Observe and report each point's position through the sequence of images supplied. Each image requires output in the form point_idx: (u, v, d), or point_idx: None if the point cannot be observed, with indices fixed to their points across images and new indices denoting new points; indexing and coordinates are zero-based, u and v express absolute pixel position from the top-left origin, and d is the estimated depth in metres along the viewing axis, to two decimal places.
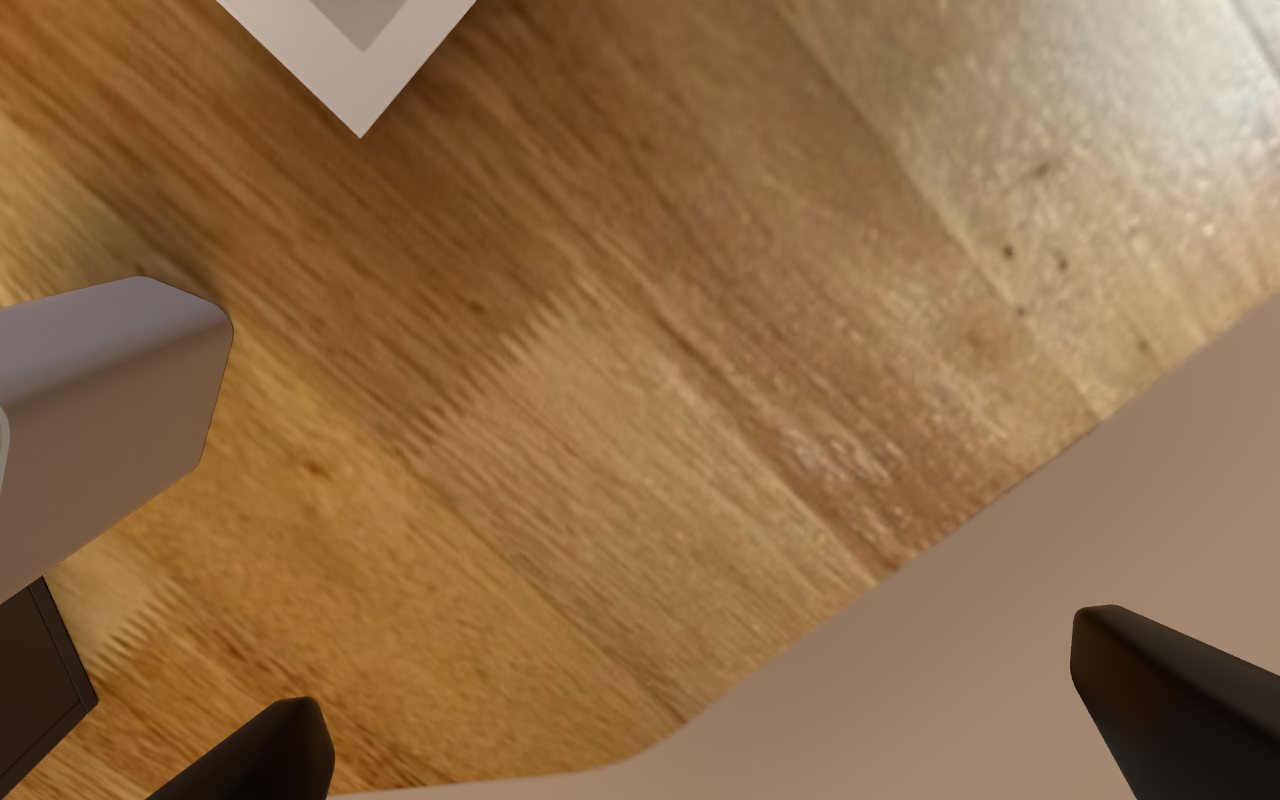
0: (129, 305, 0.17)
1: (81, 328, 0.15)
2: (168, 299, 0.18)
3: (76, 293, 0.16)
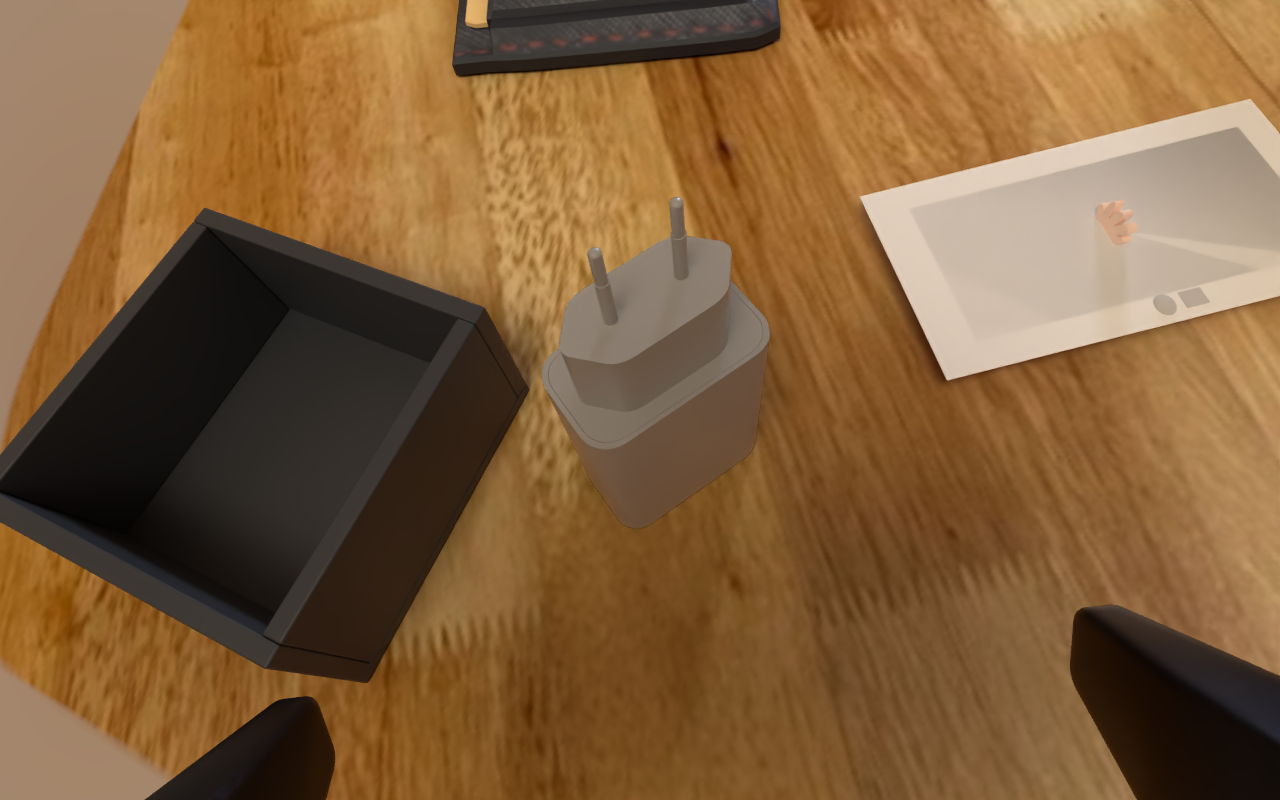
0: None
1: None
2: None
3: None
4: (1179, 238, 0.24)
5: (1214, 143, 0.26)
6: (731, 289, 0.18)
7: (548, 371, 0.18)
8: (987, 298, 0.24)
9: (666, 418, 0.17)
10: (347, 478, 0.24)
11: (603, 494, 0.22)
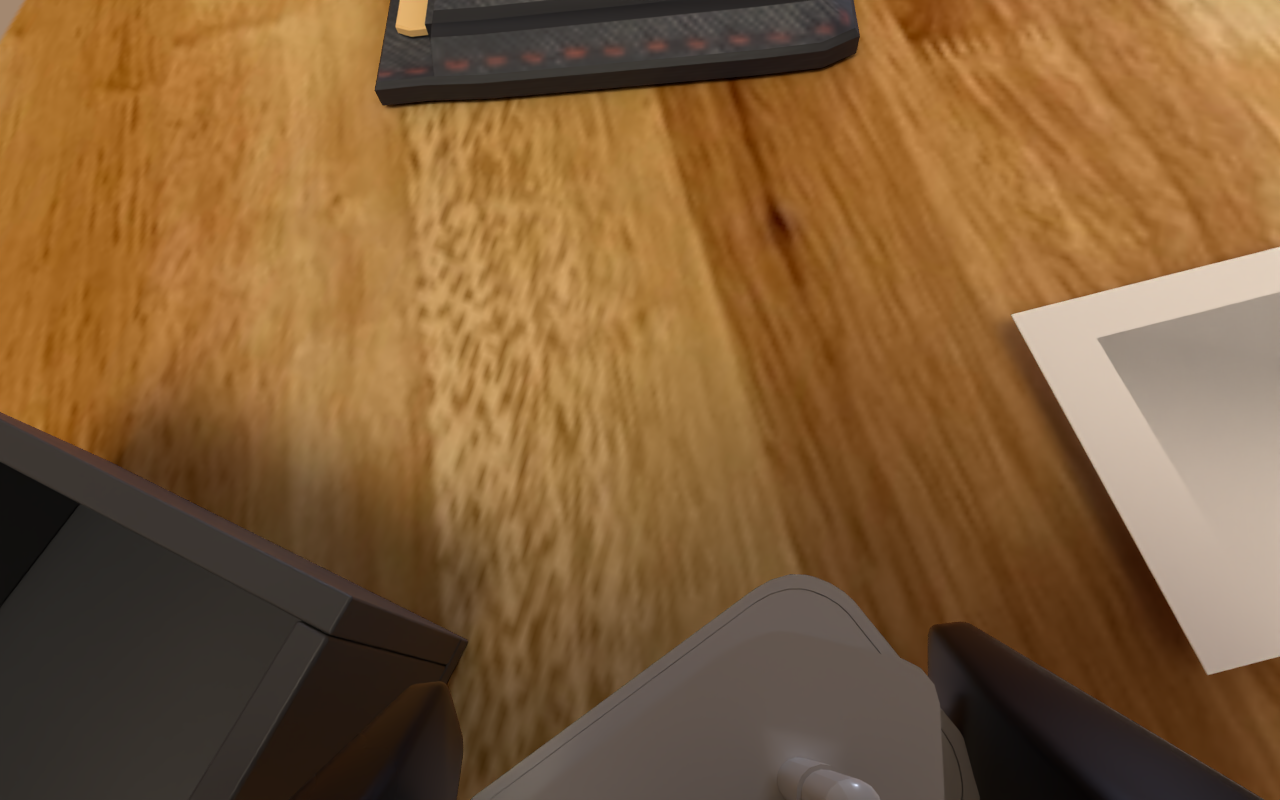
0: None
1: None
2: None
3: None
4: None
5: None
6: (874, 647, 0.08)
7: None
8: (1256, 508, 0.14)
9: None
10: None
11: None
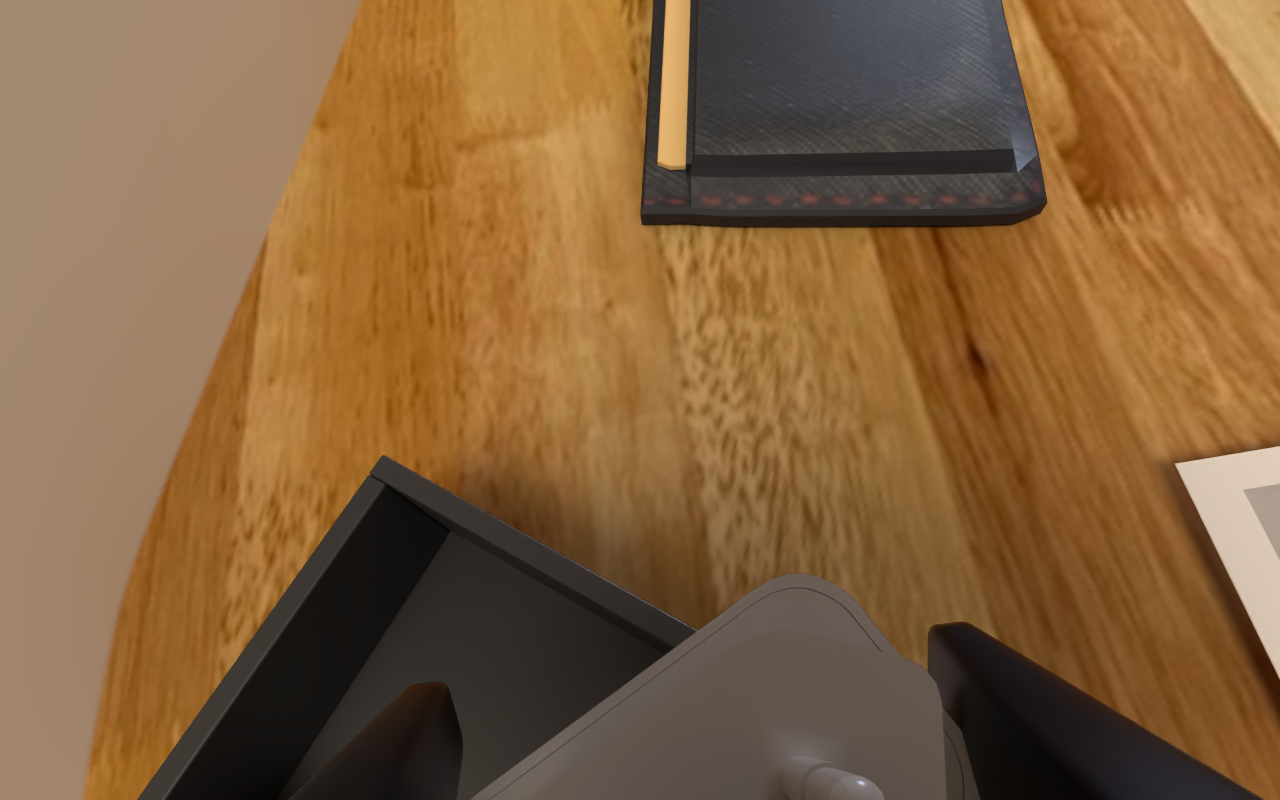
0: None
1: None
2: None
3: None
4: None
5: None
6: (876, 646, 0.08)
7: None
8: None
9: None
10: None
11: None
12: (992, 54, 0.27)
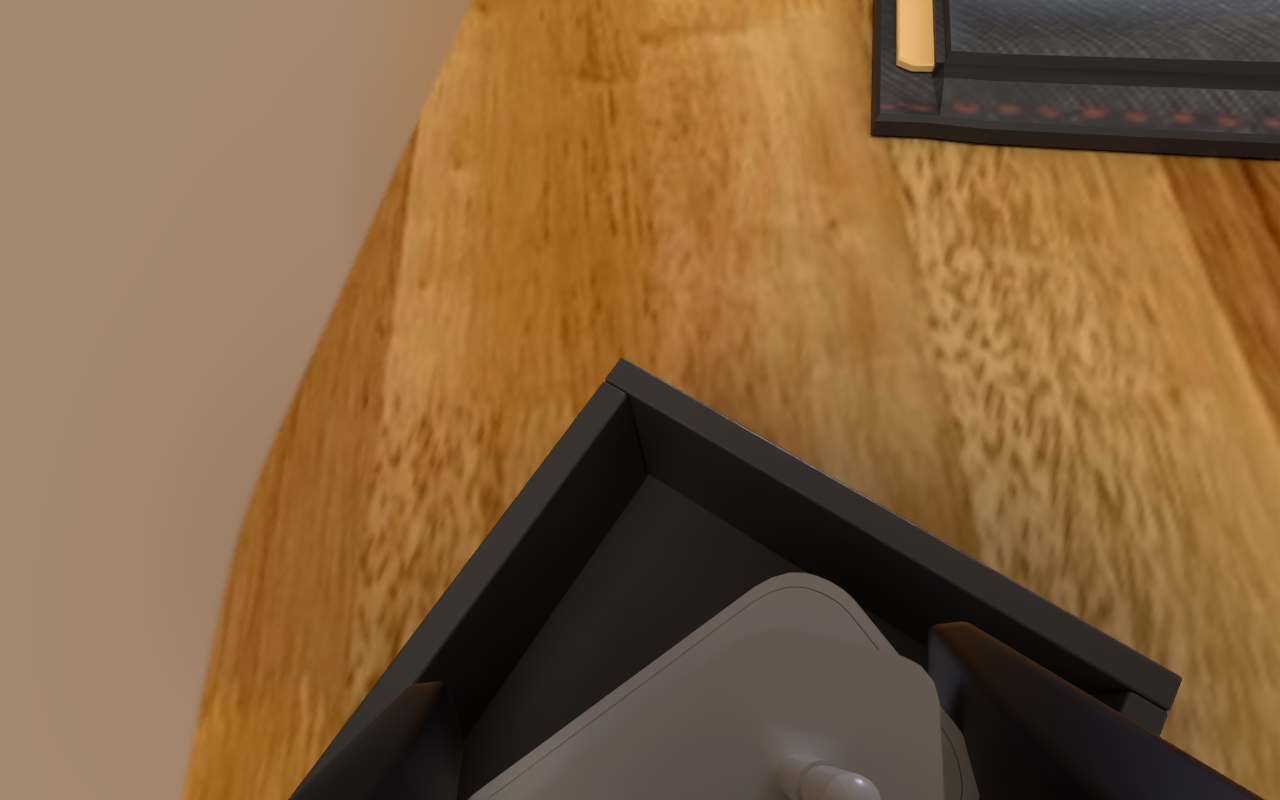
0: None
1: None
2: None
3: None
4: None
5: None
6: (874, 645, 0.08)
7: None
8: None
9: None
10: None
11: None
12: None
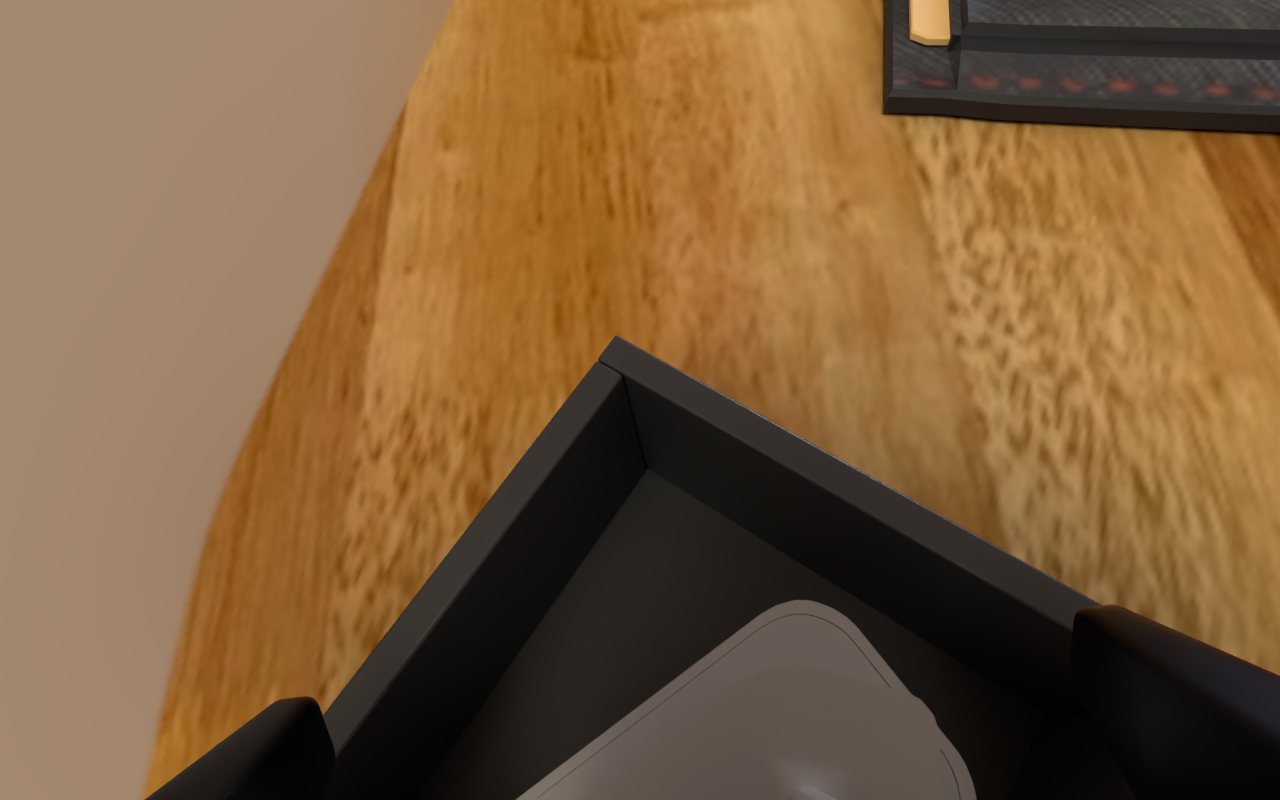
0: None
1: None
2: None
3: None
4: None
5: None
6: (876, 671, 0.08)
7: None
8: None
9: None
10: None
11: None
12: None
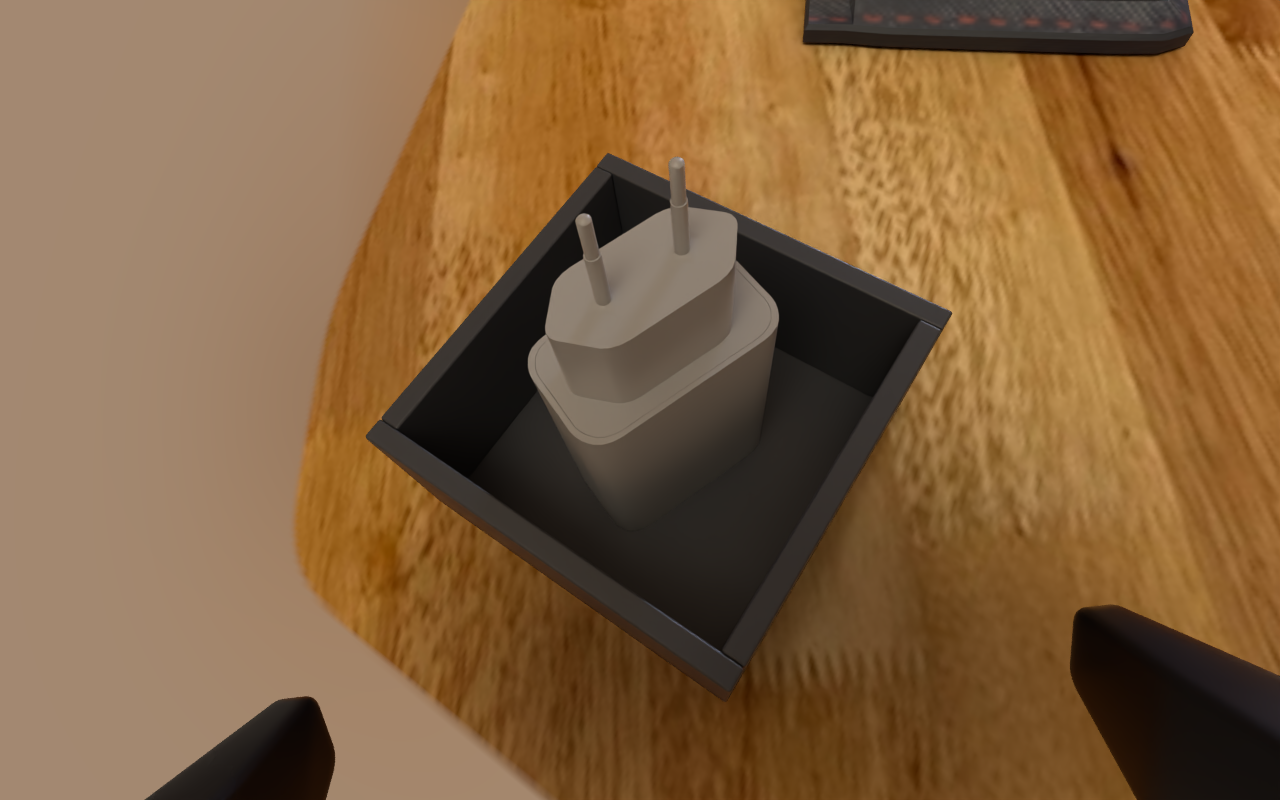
0: None
1: None
2: None
3: None
4: None
5: None
6: (736, 269, 0.17)
7: (535, 359, 0.16)
8: None
9: (665, 410, 0.15)
10: None
11: (597, 494, 0.20)
12: None
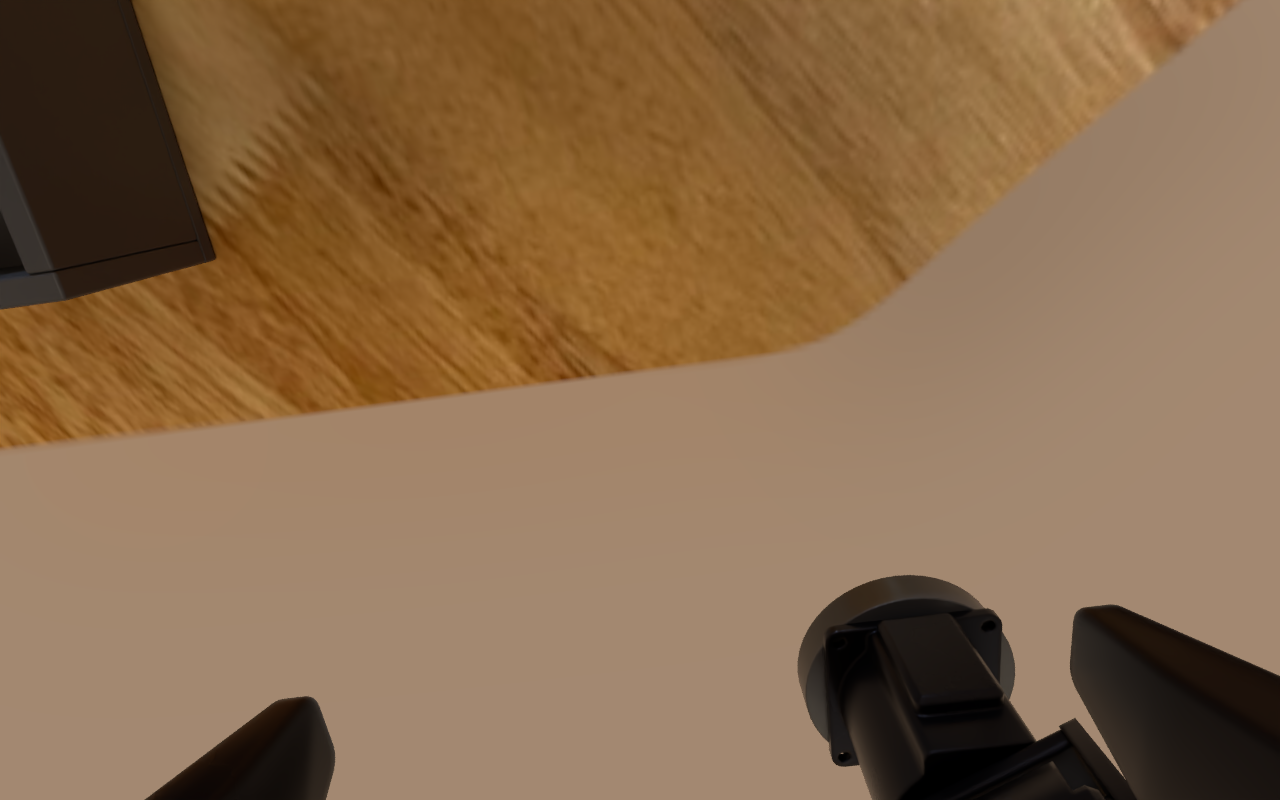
0: None
1: None
2: None
3: None
4: None
5: None
6: None
7: None
8: None
9: None
10: None
11: None
12: None
